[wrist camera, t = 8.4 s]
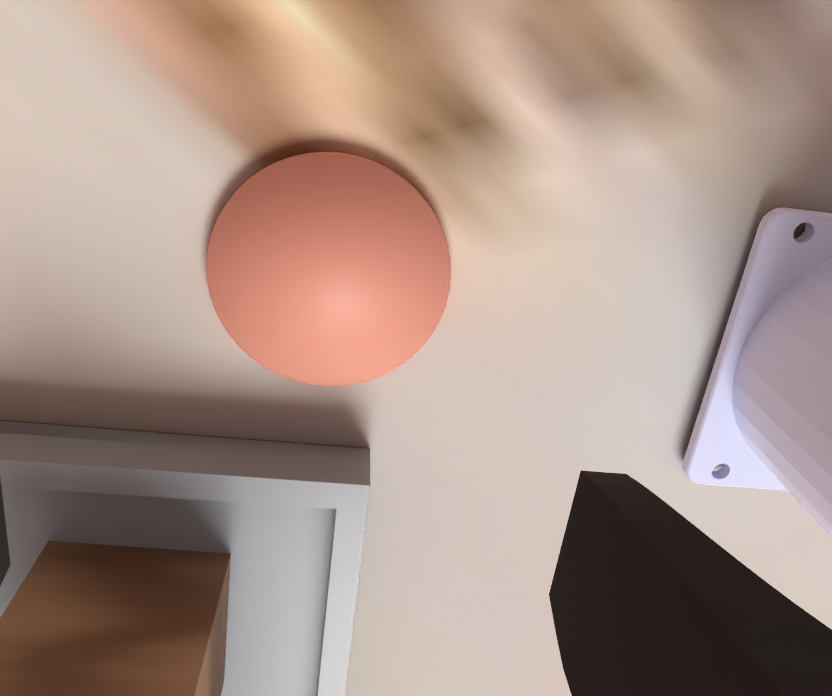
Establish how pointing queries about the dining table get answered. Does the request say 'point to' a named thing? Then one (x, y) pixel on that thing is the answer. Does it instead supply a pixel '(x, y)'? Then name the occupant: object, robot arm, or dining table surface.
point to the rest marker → (328, 268)
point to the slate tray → (209, 531)
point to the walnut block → (117, 623)
